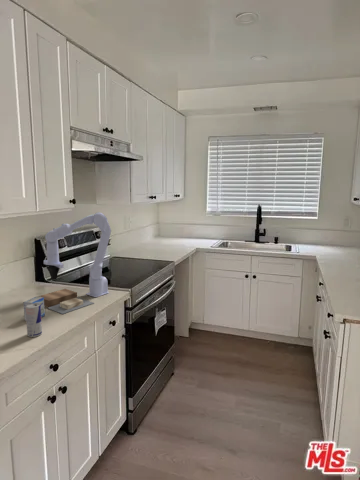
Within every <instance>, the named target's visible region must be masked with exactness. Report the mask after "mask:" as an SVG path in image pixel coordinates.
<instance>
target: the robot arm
mask: <svg viewBox="0 0 360 480" xmlns="http://www.w3.org/2000/svg"><path fill="white" fill-rule="evenodd" d="M86 225H95V226H96V227H98V229H99V230H100V232H101V235H100V238H99V241H98V246H97V250H96V253H95V257H94V260H93V264H92V265H91V266H90V268H89V277H88V281H89V283H88V284H89V285H88V286H89V292H87V293H85V294H86V295H87V296H90V297H93V298H98V297H101V296H103V295H104V296H105V295H107V294H109V293H110V292H109V285H108V279H107V278H106V277H105V276H103V273H102V271H103V264H104V260H105V256H106V252H107V248H108V245H109V241H110V237H111V233H112V229H111V225H110V223H109V221H108V218H107V216H106V215H105V214H104V213H103V212H100V211H98V212H96V213H93V214H89V215H87V216H84V217H83V218H79V219H78V220H76V221H74V222H73V223H70V224H69V223H62V224H61V226H58V227H56V228H55V227H54V228H53V229H52V230H49V231H47V233H46V234H45V241H46V259H44V260H43V265H45V266H46V269H47V271H48V273H49V276H50V278H51V280H52V281H56V280H57V279H58V275H59V271H60V269H64V263H62V262H61V261H60V255H59V254H60V253H59V240H61V239H63V238H65V237H67V236H70V235H71V234H72V233H73V231H74V230H76V229H78V228H81V227H83V226H86Z"/></svg>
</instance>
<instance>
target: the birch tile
mask: <svg viewBox="0 0 360 480" xmlns="http://www.w3.org/2000/svg"><path fill="white" fill-rule="evenodd" d="M78 298H79V297H77V298H73V299H70V300H67V301H64V302H60V307H62V308H65V309H71V308H74V307H77V306H80V305H83V300H81V299H82V298H81V299H78Z"/></svg>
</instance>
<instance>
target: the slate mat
mask: <svg viewBox="0 0 360 480" xmlns="http://www.w3.org/2000/svg"><path fill="white" fill-rule="evenodd" d="M77 298H78V299H81V300H83V305H80V306H77V307H74V308H71V309H65V308H62V307H60V304H57V305H54V306H51V307H47V309H48V310H50V311H52V312H56V313H58V314H60V315H65V314H68V313H71V312H74V311H77V310H79V309H82V308H83V309H84V308H85V307H88V306H90V305H93V304H95V302H92V301H90V300H88V299H84V298H81V297H77Z"/></svg>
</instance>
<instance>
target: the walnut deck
mask: <svg viewBox="0 0 360 480" xmlns="http://www.w3.org/2000/svg"><path fill="white" fill-rule="evenodd" d="M36 297H43V298H44V307H46V308H48V307H51V306H54V305H57V304H60V302H64V301H67V300H70V299H73V298H78V291H74V290H72V289H67V288H62V289H59V290H56V291H52V292H48V293H44V294H42V295H38V296H36Z"/></svg>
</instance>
